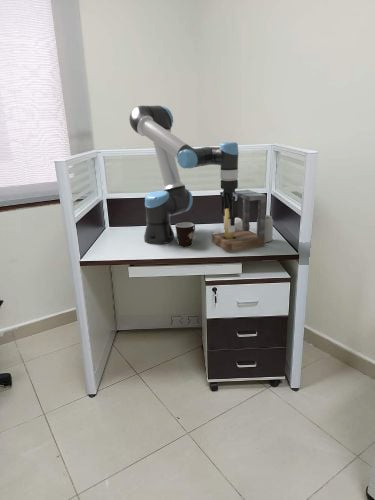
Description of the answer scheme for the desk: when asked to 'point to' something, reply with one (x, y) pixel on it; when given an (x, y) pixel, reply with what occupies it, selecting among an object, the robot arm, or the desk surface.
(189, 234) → the coffee mug
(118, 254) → the desk surface
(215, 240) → the socket board
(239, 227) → the white rounded lump
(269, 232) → the can
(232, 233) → the peg
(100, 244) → the desk surface
